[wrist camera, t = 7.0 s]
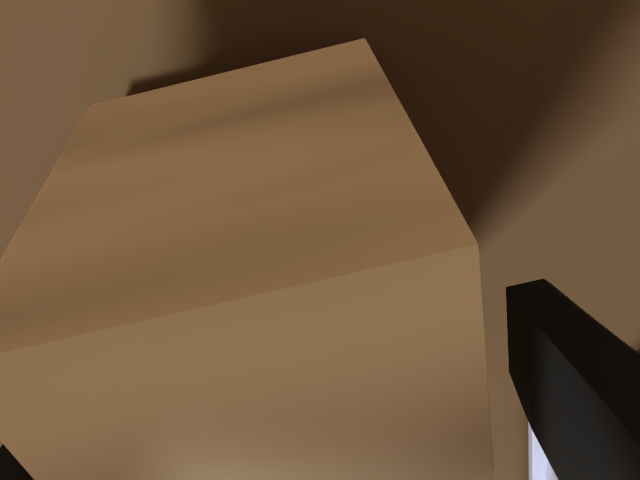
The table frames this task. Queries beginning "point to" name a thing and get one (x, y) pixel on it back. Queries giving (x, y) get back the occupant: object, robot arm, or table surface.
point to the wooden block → (247, 290)
